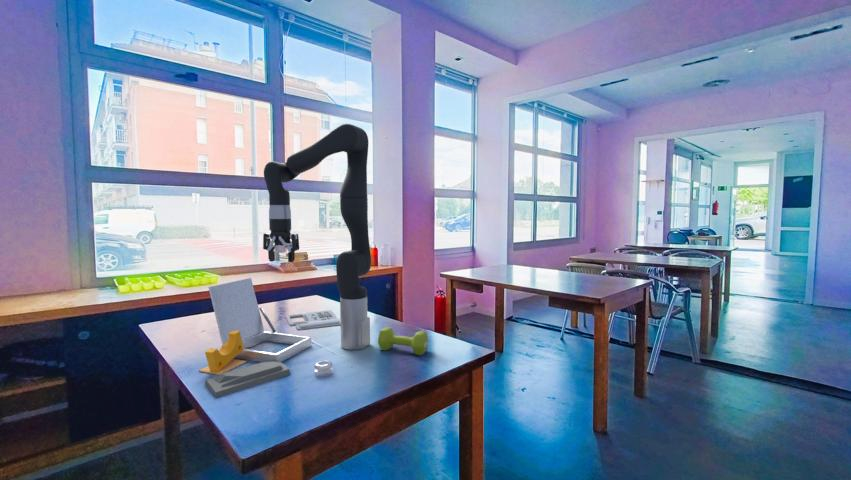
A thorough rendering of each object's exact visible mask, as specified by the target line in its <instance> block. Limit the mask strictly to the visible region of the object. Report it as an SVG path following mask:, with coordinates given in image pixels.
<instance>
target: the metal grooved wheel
mask: <svg viewBox="0 0 851 480" xmlns="http://www.w3.org/2000/svg"><path fill="white" fill-rule="evenodd" d="M332 373H333V362H332V361H330V360H320V361H318V362H316V363H315V364H314V375H315V376H317V377H328V376H330V375H331V374H332Z"/></svg>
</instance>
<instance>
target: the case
mask: <svg viewBox="0 0 851 480" xmlns="http://www.w3.org/2000/svg"><path fill="white" fill-rule="evenodd" d="M266 341H267V342H272V343H273V342H274V343H280V344H289V345H290V346H288V347H286V348H284V349H282V350H280V351H278V352H276V353H275V352H268V351H260V350H255V349H249V348H251V347H254V346H256V345H259V344H261V343H263V342H266ZM242 343H243V347H244V349H243V350H242V351H241V352H240V353H239V354H238V355H236V356H235V357H234V358H233V359H238V360H244V361H251V362H259V363H262V362H272V361H276V360H277V361H279V362H281V363H283V362H284V361H286V360H288V359H290V358H291V357H293V356H295V355H297V354H299V353H301V352H303V351H304V350H306V349H308V348H310V347H312V337H310V336H303V335H297V334H290V333H281V332H279V331H276V332H273V331H265V330H264V331H263V332H261V333H258V334H256V335H253V336H251V337H248V338H246V339H243V340H242Z"/></svg>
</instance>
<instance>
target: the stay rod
mask: <svg viewBox="0 0 851 480" xmlns="http://www.w3.org/2000/svg"><path fill="white" fill-rule="evenodd" d="M258 308H259V312H260V314H261V315H262V316H263V318H264V320H265V321H266V322H267V324H268V326H269V328H270V329H271V332H276V328H275V327H274V326H273V323H272V322H271V320H270V319H269V317H268V315H267V313H266V311H265V310H264V309H263V307H262V306H260V307H258Z"/></svg>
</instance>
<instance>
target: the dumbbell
mask: <svg viewBox="0 0 851 480" xmlns="http://www.w3.org/2000/svg"><path fill="white" fill-rule="evenodd" d="M377 343H378V346H379V349H380V350H381V351H388V350H390V349H392V347H393V346H394V345H395V346H396V345H397V346H403V347H404V346H405V347H411V348H412V350H413V353H414V354H415V355H417V356H423V355H424V354H425V353H426V351H428V345H429V337H428V333H427V332H426V331H424V330H419V331H417V332H416V333H414V335H413V336H406V335H405V336H404V335H396V334H395V331H394V329H393V328H392V327H391V326H385V327H383V328H382V329H381V330H379V334H378V338H377Z"/></svg>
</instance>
